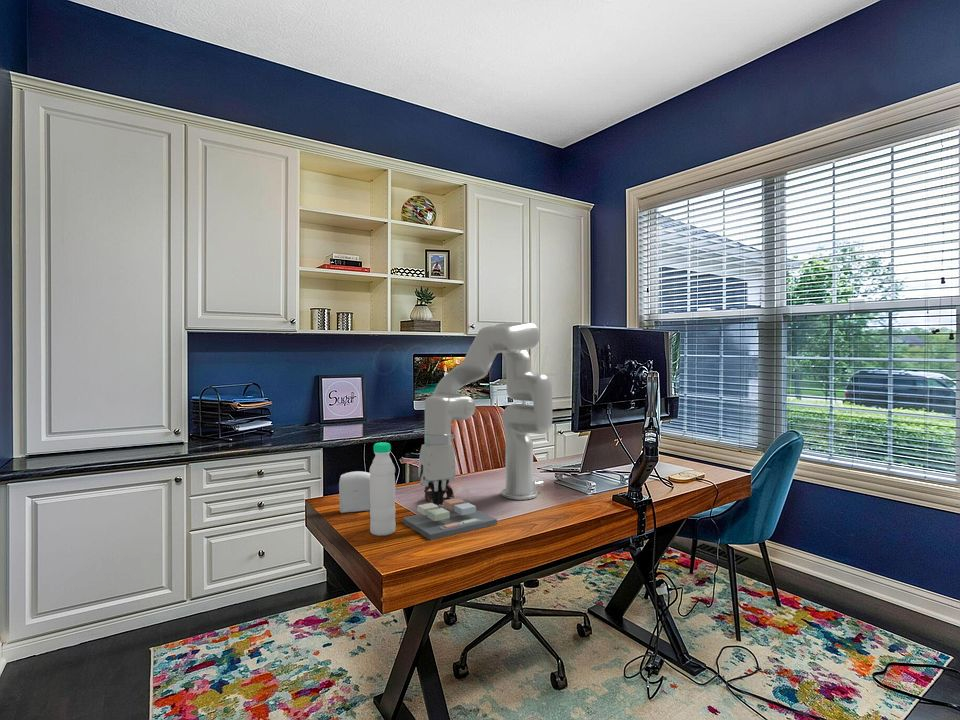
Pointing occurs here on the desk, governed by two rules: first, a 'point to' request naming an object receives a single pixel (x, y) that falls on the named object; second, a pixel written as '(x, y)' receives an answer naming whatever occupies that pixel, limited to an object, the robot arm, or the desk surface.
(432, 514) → the sage key
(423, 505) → the cream key
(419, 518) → the keypad
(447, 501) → the terracotta key
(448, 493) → the brown arched ornament
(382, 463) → the water bottle
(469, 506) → the blue key
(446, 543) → the desk surface
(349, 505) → the photo printer
